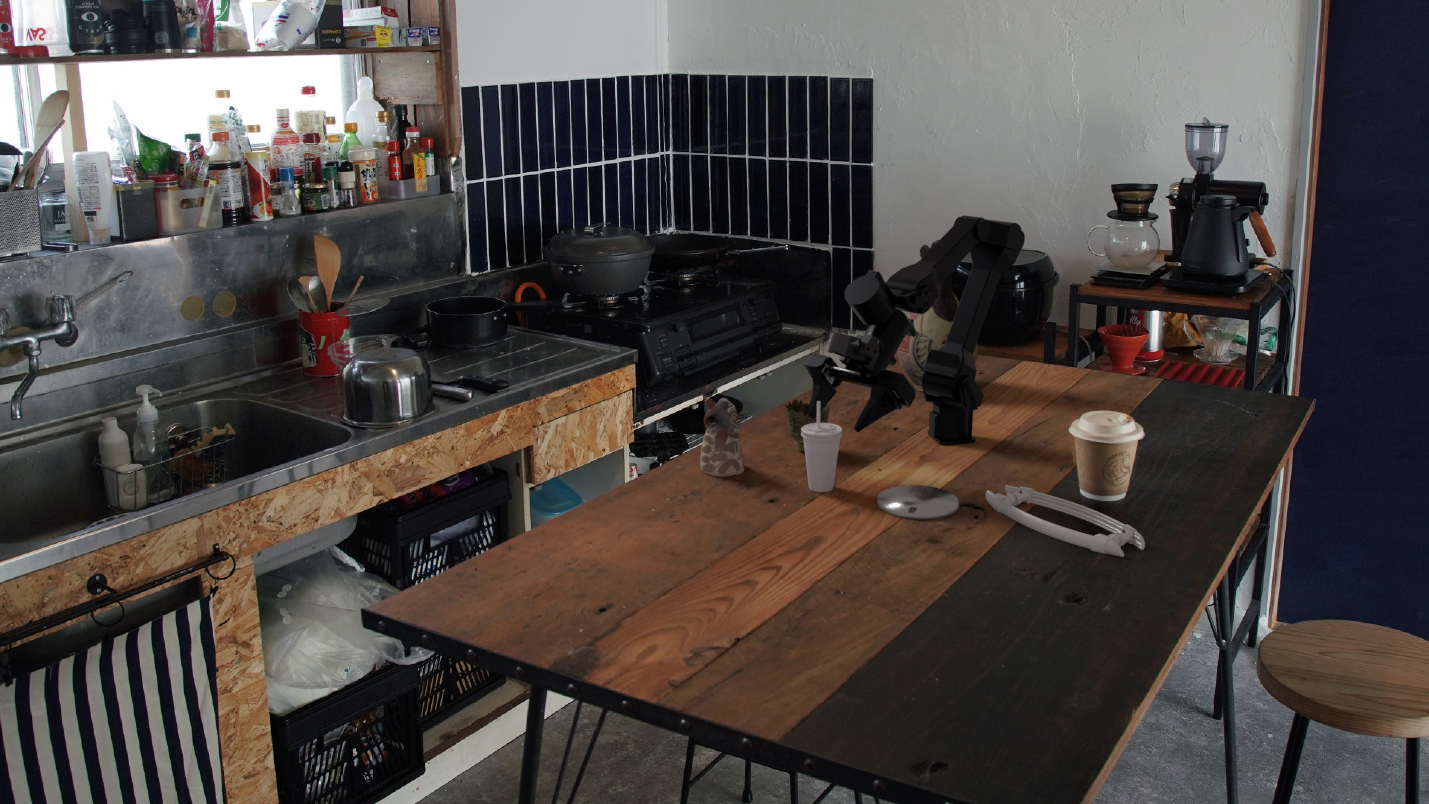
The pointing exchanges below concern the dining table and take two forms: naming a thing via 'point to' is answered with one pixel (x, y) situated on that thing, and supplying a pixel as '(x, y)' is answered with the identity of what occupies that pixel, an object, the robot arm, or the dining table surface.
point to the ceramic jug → (929, 330)
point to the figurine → (721, 440)
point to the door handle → (1094, 543)
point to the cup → (801, 420)
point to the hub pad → (917, 502)
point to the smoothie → (821, 452)
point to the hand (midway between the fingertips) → (832, 424)
